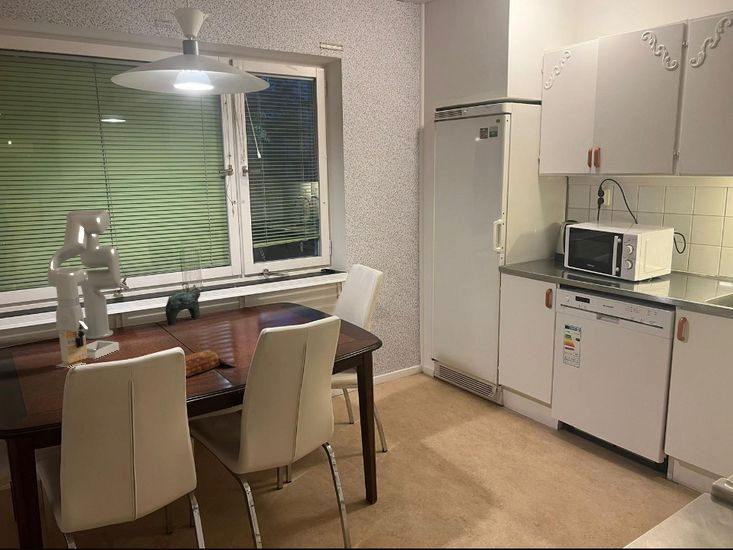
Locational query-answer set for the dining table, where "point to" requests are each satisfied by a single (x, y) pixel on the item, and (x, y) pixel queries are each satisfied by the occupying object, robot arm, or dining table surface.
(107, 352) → the white shallow tray
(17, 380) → the dining table surface
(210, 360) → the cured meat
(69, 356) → the supplement box
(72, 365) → the mat
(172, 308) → the green horse figurine
